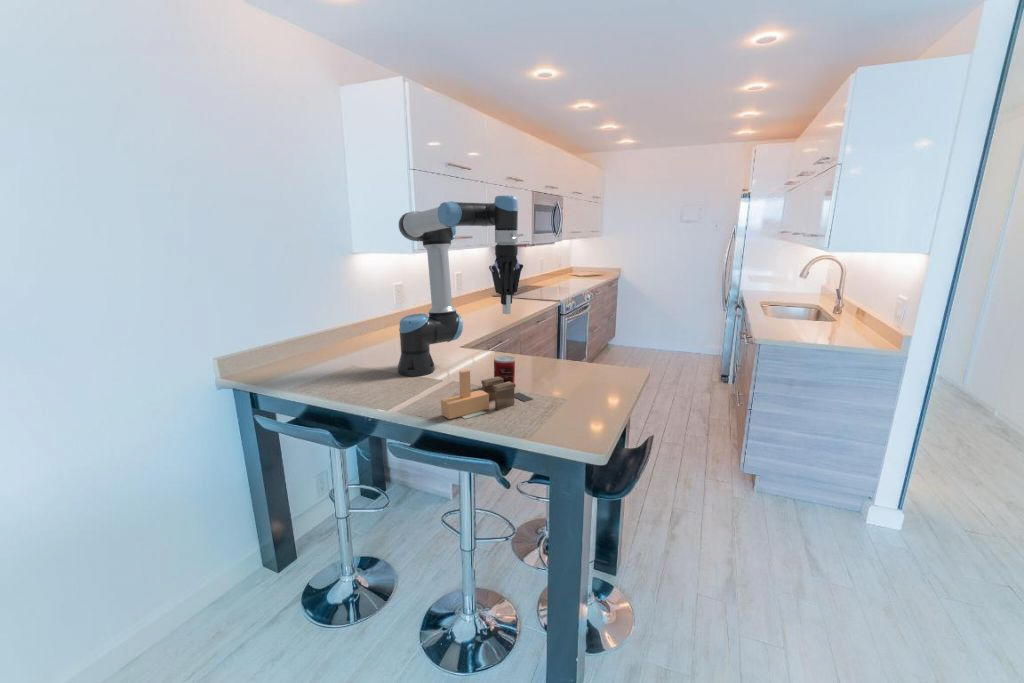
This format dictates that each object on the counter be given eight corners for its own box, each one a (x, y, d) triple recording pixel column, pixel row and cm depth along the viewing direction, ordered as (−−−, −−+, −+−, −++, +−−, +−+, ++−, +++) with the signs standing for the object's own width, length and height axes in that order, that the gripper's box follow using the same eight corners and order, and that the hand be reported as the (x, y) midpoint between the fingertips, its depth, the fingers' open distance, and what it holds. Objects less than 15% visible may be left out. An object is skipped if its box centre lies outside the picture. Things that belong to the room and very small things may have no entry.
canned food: (503, 381, 181) (502, 354, 179) (519, 386, 176) (519, 358, 174) (489, 386, 176) (489, 358, 173) (506, 391, 171) (505, 362, 168)
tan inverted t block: (441, 414, 149) (439, 373, 146) (480, 403, 158) (480, 365, 154) (449, 419, 145) (447, 377, 142) (489, 408, 154) (488, 368, 150)
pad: (450, 410, 153) (450, 409, 153) (471, 404, 158) (471, 404, 158) (465, 419, 146) (465, 418, 146) (486, 413, 151) (486, 412, 151)
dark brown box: (481, 401, 161) (481, 380, 159) (498, 397, 165) (498, 376, 163) (498, 410, 153) (498, 388, 151) (515, 405, 157) (515, 383, 155)
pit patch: (510, 395, 167) (510, 394, 167) (519, 392, 169) (519, 392, 169) (524, 401, 160) (524, 401, 160) (533, 399, 163) (533, 398, 163)
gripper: (496, 244, 149) (497, 317, 154) (528, 243, 156) (528, 313, 162) (483, 244, 155) (484, 314, 160) (515, 243, 162) (515, 310, 168)
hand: (506, 313), depth 161 cm, fingers closed
